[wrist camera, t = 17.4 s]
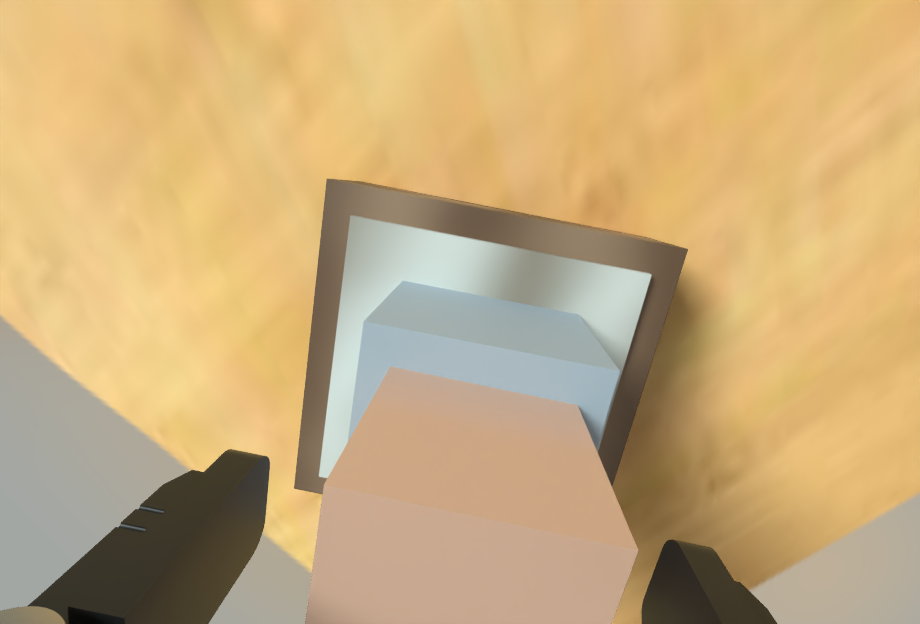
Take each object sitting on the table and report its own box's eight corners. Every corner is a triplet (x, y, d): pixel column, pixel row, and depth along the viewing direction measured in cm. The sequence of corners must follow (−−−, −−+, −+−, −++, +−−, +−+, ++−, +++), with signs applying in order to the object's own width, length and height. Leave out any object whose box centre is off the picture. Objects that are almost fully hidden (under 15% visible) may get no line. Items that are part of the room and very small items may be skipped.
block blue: (578, 314, 15) (620, 370, 10) (537, 468, 17) (557, 579, 12) (402, 280, 15) (363, 321, 10) (378, 436, 17) (335, 534, 12)
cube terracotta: (577, 405, 11) (638, 550, 6) (532, 559, 12) (557, 770, 8) (390, 366, 11) (323, 485, 6) (364, 523, 12) (292, 713, 8)
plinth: (646, 237, 19) (692, 250, 14) (573, 485, 22) (593, 554, 18) (360, 181, 19) (323, 178, 15) (328, 436, 22) (290, 493, 18)
